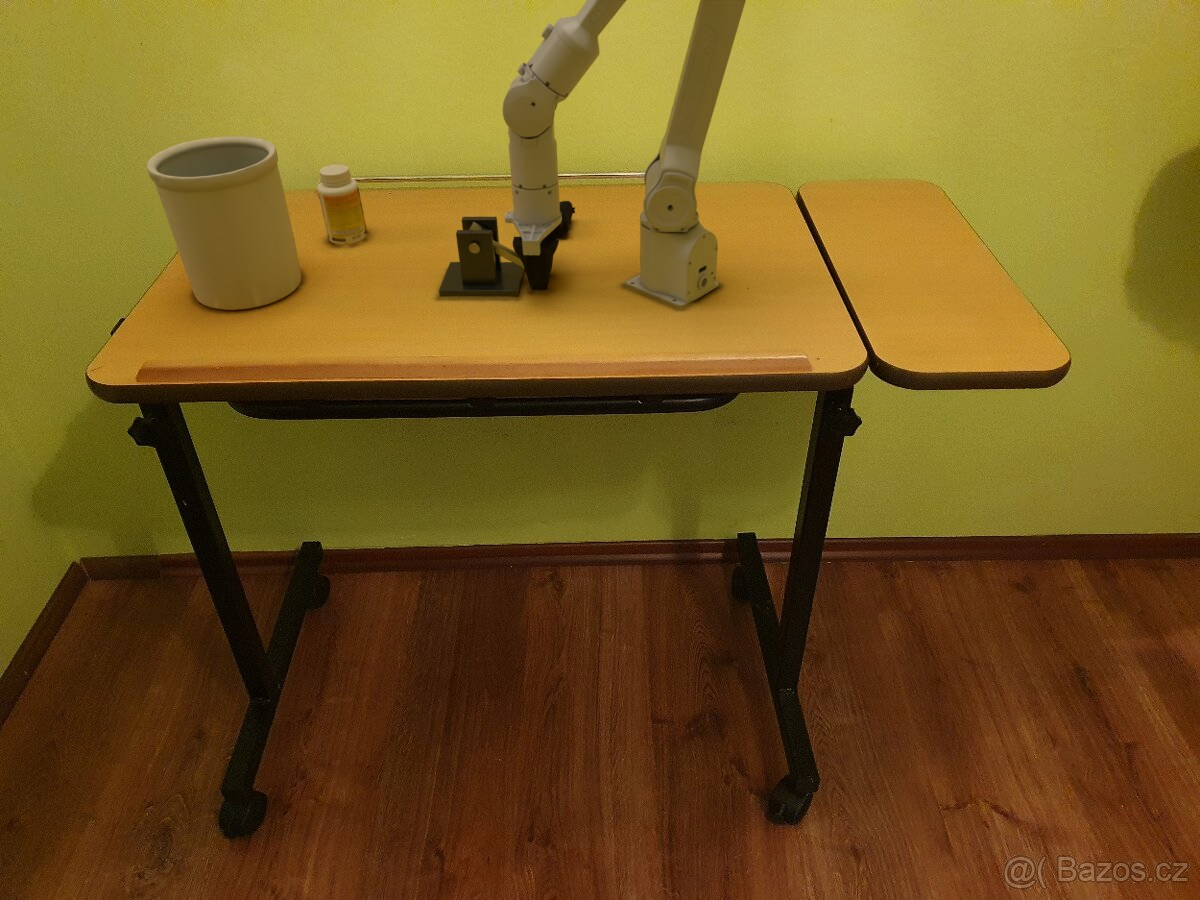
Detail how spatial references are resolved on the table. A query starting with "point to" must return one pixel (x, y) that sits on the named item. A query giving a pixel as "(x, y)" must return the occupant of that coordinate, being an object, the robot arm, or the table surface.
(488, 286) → the switch bracket
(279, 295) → the utensil holder
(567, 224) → the tape measure
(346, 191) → the supplement bottle
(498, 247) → the lever
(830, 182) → the table surface
